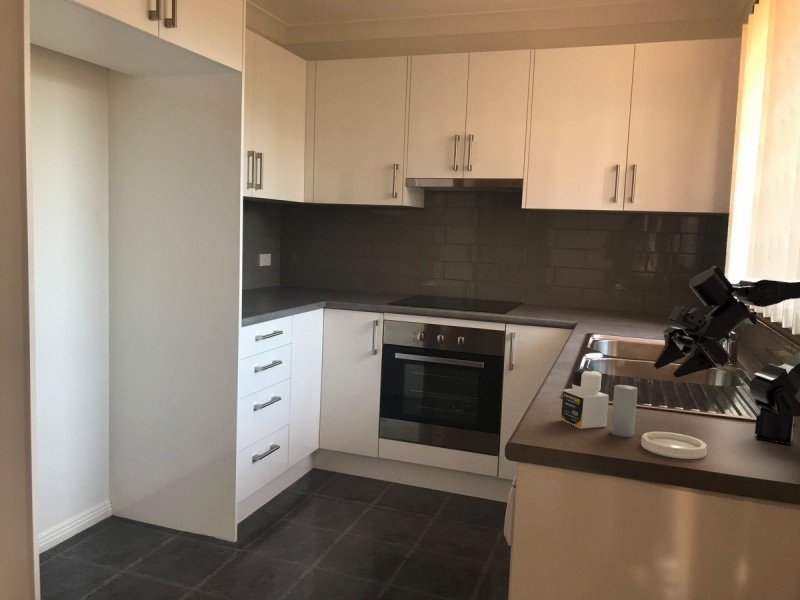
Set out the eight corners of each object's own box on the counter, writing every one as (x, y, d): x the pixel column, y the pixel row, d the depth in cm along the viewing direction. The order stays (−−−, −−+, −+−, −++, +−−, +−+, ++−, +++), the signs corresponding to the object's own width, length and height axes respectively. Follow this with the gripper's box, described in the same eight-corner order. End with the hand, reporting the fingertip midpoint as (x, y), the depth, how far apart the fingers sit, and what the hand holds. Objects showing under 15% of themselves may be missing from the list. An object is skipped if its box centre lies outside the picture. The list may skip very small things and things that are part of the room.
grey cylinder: (635, 433, 143) (640, 387, 142) (630, 438, 139) (634, 390, 138) (614, 429, 145) (618, 383, 145) (608, 433, 142) (612, 387, 141)
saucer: (710, 448, 135) (711, 439, 135) (700, 463, 125) (701, 454, 125) (648, 436, 141) (649, 428, 141) (634, 449, 131) (635, 440, 131)
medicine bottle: (560, 420, 151) (564, 367, 150) (585, 418, 153) (590, 366, 152) (580, 429, 144) (584, 374, 143) (606, 427, 147) (611, 373, 146)
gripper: (676, 290, 150) (623, 337, 150) (720, 298, 131) (659, 351, 132) (706, 327, 151) (654, 373, 151) (754, 340, 132) (694, 392, 133)
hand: (664, 371), depth 142 cm, fingers open, 9 cm apart
